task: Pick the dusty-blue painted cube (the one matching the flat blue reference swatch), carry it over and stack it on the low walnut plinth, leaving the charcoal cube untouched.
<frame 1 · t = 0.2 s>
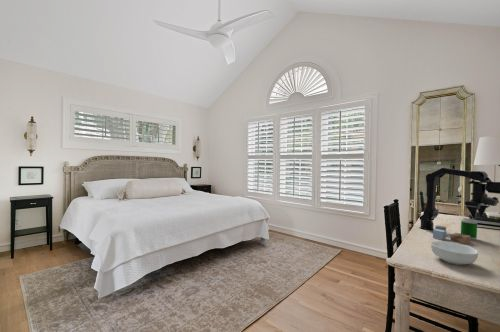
hand: (477, 217, 147), 14 cm above the table, fingers open, 9 cm apart
cereal bowl: (452, 261, 114), on the table
soda can: (468, 238, 151), on the table
reference swatch: (450, 237, 153), on the table
charcoal cube: (440, 234, 159), on the table
walnut plinth: (460, 241, 144), on the table
blue cube: (439, 238, 150), on the table
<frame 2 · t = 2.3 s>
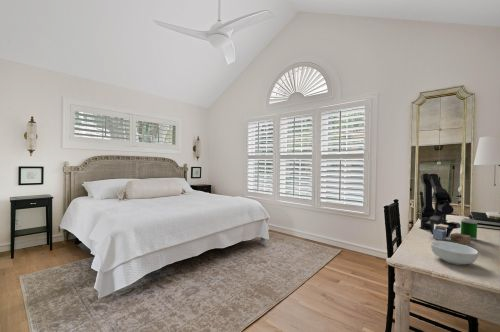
hand: (439, 236, 150), 1 cm above the table, fingers open, 7 cm apart
nothing on the table moved.
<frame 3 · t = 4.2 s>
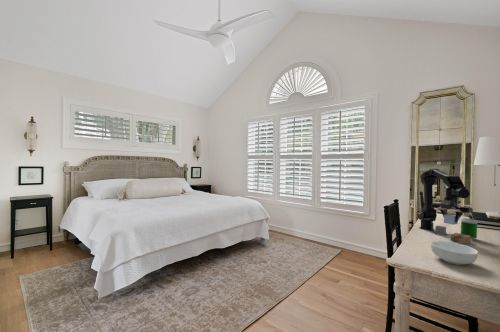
hand: (450, 221, 147), 11 cm above the table, fingers closed on blue cube, 5 cm apart
blue cube: (450, 223, 147), point 10 cm above the table, touching gripper
everything else where it was.
when the fingers open (6 cm above the table, at t = 5.6 s): blue cube drops 1 cm, resting on walnut plinth.
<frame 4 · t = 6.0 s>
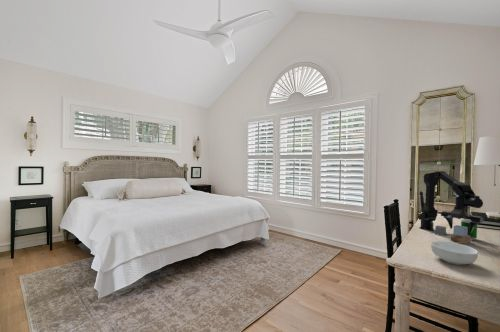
hand: (460, 230, 144), 6 cm above the table, fingers open, 9 cm apart
blue cube: (460, 234, 144), point 4 cm above the table, touching walnut plinth
everything else where it was.
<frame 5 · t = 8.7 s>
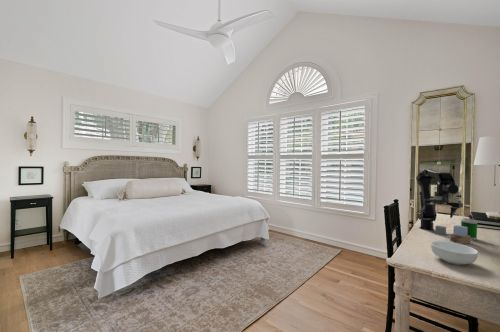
hand: (442, 216, 153), 13 cm above the table, fingers open, 9 cm apart
nothing on the table moved.
at the end: blue cube 0.1 cm off-centre on the walnut plinth, point 4.0 cm above the walnut plinth's base; blue cube tilted 0°; charcoal cube moved 0.1 cm from its start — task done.
